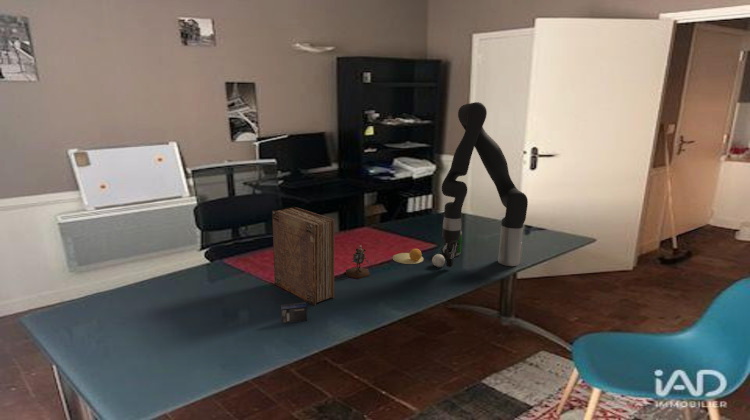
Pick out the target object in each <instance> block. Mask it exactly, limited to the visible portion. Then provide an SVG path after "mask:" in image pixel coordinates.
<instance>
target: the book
mask: <svg viewBox="0 0 750 420" xmlns="http://www.w3.org/2000/svg"><path fill="white" fill-rule="evenodd" d="M271 215H272V217H271V218H272V240H273V241H272V243H273V244H272V245H273V246H272V248H273V249H272V250H273V270H274V271H273V272H274V273H273V274H274V285H276V286H277V287H279V288H280V289H283V290H285V291H286V292H288V293H290V294H292V295H294V296H296V297H298V298H299V299H301V300H303V301H304V302H306V303H309V304H310V305H312V306H314V307H315V306H316V305H317V303H320V302H323V301H326V300H328V299H334V298H335V219H334V218H331V217H328V216H325V215H322V214H318V213H315V212H312V211H309V210H306V209H302V208H299V207H296V206H288V207H283V208H278V209H277V208H276V209H272V211H271Z"/></svg>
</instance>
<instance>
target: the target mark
mask: <svg viewBox="0 0 750 420" xmlns="http://www.w3.org/2000/svg"><path fill="white" fill-rule="evenodd" d="M409 253H410V252H401V253H397V254H394V255H393V256H392V260H393V261H394V262H396V263H399V264H405V265H415V264H420V263H423V262H424V257H423V256H421V258H420V259H419V260H418V261H413V260H412V259H411V258H410V256H409Z"/></svg>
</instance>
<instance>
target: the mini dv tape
mask: <svg viewBox="0 0 750 420" xmlns="http://www.w3.org/2000/svg"><path fill="white" fill-rule="evenodd" d="M307 305H308V304H307V302H306V301H304V302H296V303H295V302H294V303H284V304H281V305H280V313H281V314H280V317H281V319H280V321H281V324H288V323H290V324H291V323H297V322H307V321H308V306H307Z"/></svg>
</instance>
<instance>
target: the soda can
mask: <svg viewBox="0 0 750 420" xmlns="http://www.w3.org/2000/svg"><path fill="white" fill-rule="evenodd" d="M462 239H463V231H462V230H461V235H460V239H459V240H457V242H458V243H460V245H459V248H458V251H457V253H456V256H455V255H454V257H458V256H459V255H460V254H461V252H462V242H463V241H462Z"/></svg>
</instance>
